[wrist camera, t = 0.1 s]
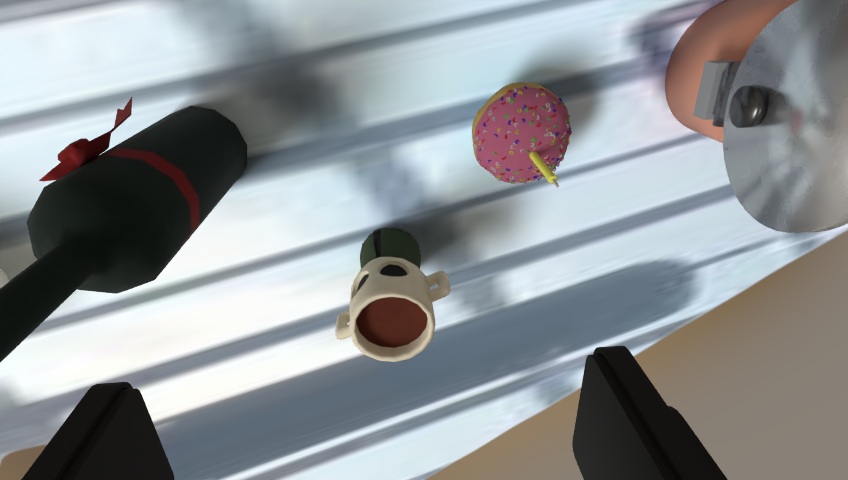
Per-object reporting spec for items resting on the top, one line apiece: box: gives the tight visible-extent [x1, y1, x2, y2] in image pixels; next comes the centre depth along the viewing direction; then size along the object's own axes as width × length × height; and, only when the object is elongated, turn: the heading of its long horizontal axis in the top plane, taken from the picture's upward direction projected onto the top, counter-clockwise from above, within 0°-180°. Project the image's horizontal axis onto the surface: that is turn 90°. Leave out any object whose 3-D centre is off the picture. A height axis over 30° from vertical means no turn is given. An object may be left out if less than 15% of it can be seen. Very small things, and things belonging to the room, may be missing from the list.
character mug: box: [335, 228, 450, 362], centre depth 44 cm, size 11×7×13 cm, turn 114°
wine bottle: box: [0, 97, 247, 362], centre depth 30 cm, size 8×10×30 cm
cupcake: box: [472, 83, 572, 187], centre depth 39 cm, size 9×8×12 cm
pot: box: [665, 0, 799, 143], centre depth 39 cm, size 18×14×10 cm
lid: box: [712, 0, 848, 233], centre depth 28 cm, size 13×15×2 cm
